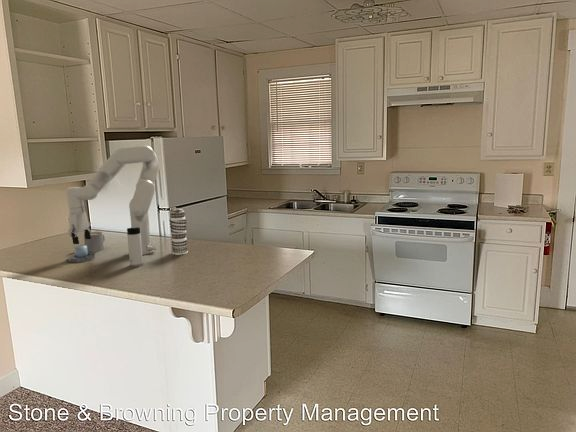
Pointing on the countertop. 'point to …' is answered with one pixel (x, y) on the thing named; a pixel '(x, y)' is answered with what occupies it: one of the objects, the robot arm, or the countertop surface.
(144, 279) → the countertop surface
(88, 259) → the collar ring
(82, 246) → the pale blue rounded block
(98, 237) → the coffee mug
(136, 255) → the travel mug
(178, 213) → the decorative candle
